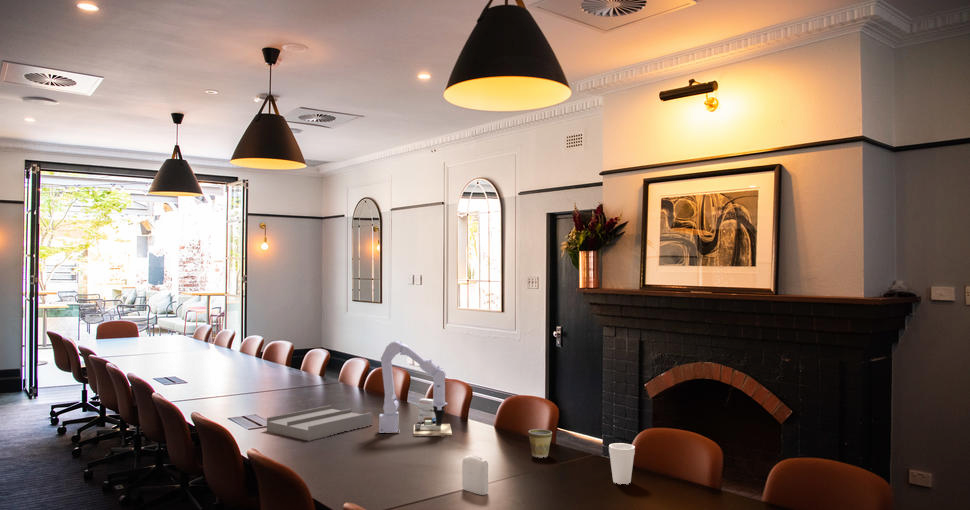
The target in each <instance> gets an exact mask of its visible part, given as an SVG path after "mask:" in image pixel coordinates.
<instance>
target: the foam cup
mask: <svg viewBox="0 0 970 510" xmlns="http://www.w3.org/2000/svg"><path fill="white" fill-rule="evenodd" d="M635 449H636V446H635V445H633V444H629V443H622V442H618V443H617V442H615V443H610V444H609V445H608V453H609V458H610V460H609V461H610V467H611V473H612V476H611V477H612V481H613V483H614V484H616V483H617V484H618V485H621V484H626V485H629V483H630V484H631V481H632V473H633V465H634V460H635V459H634V458H635V454H636V453H635V452H636V450H635ZM617 484H616V485H617Z"/></svg>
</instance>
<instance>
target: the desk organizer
mask: <svg viewBox="0 0 970 510" xmlns="http://www.w3.org/2000/svg"><path fill="white" fill-rule="evenodd" d="M352 410H353V409H352V408H348V409H342V410H339V409H335V408H333V407H332V405H326V406H325V405H324V406H320V407H315V408H314V407H313V408H309V409H305V410H299V411H293V412H290V413H284V414H279V415H275V416H269V417H266V432H267V433H268V432H269V433H273V434H277V435H281V436H286V437H291V438H295V439H299V440H303V441H307V442H309V441H314V440H319V439H322V438H326V437H327V438H328V437H331V436H335V435H338V434H337V433H340V432H344V431H348V430H352V429H355V428H360V427H363V426H367V425H370V424H372V425H373V412H372V411H371V412H367V413H363V414H362V413H356V412H353V411H352ZM360 429H361V428H360ZM352 431H353V430H352ZM348 432H349V431H348ZM344 433H345V432H344ZM334 434H335V435H334ZM340 434H341V433H340ZM330 435H331V436H330Z"/></svg>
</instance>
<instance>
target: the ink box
mask: <svg viewBox="0 0 970 510" xmlns="http://www.w3.org/2000/svg"><path fill="white" fill-rule="evenodd" d="M433 406H434V405H433V398H425V397H424V398H420V399H418V417H417V418H418V420H422V421H424V417H432V422H433V421H436V416H435V413H434V411H433V409H434V408H433Z"/></svg>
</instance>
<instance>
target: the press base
mask: <svg viewBox="0 0 970 510" xmlns="http://www.w3.org/2000/svg"><path fill="white" fill-rule="evenodd" d="M425 420H431V425H436V423H432V417H424V423H423V424H422V423H420V424H421V425H425ZM415 424H416V423H415ZM415 424H413V436H414V435H452V436H453V432H452V427H451V423H442V426H441V430H419V431H417V430H415Z"/></svg>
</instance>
